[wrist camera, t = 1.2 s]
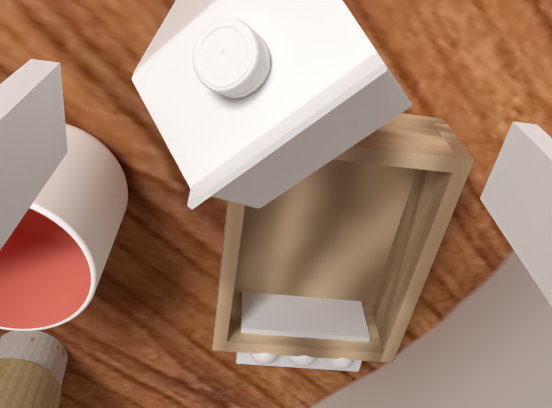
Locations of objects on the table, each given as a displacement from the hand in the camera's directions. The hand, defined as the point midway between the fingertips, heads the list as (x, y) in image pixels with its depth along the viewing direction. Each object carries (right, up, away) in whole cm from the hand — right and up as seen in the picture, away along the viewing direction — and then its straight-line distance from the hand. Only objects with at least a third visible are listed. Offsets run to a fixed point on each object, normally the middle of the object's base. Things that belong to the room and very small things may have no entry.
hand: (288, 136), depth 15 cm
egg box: (+2, -11, +28) cm, 31 cm away
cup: (-16, 0, +22) cm, 27 cm away
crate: (+3, -3, +24) cm, 24 cm away
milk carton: (-1, +10, +16) cm, 19 cm away
